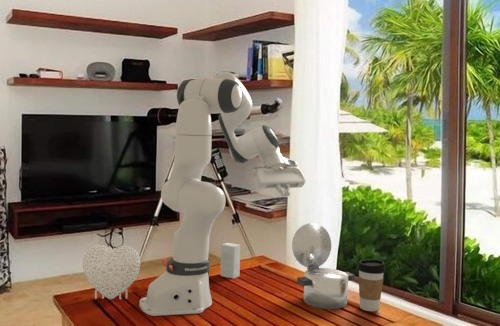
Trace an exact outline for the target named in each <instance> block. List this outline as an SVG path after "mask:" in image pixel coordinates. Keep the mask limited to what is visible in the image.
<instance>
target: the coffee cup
mask: <svg viewBox="0 0 500 326" xmlns="http://www.w3.org/2000/svg"><path fill="white" fill-rule="evenodd" d="M385 263H386V262H385V261H383V260H381V259H361V260H359V262H358V265H357V270H358V289H359V290H358V291H359V292H358V295H359V296H358V297H359V308H360V309H361V310H363V311H367V312H378V311H379V310H380V303H381V297H382V290H383V285H384V284H383V283H384V273H385V272H386V266H385Z"/></svg>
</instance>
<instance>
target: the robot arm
mask: <svg viewBox="0 0 500 326" xmlns="http://www.w3.org/2000/svg"><path fill="white" fill-rule="evenodd" d="M176 100H177V104H178V110H177V111H178V112H177V116H176V123H175V142H174V143H175V144H174V160H173V166H172V170H171V172H170V175H169V177H168V179H167V180H166V181H165V183H164V184H162V185H163V186H162V188H161V192H160V196H161V197H160V198H161V200H162V203H163V204H164V205H165V206H167V208H170V210H172V211H174V212H177V213H182V220H181V223H180V226H179V228H178V229H177V230H176V231H175V232H174V233H173V237H172V238H173V242H172V258H171V259H170V260H168V259H167V258H163V259H162V261H161V264H162V265H163V266H165V267H166V268H165V269H166V271H164V272H163V273H162V274H161V275H160V276H158V277H157V278H156V279H154V280H152V282H151V283H150V284H149V286H148V288H147V291H146V292H147V294H146V296H145V297H141V299H140V300H139V305H138V306H139V308H140V310H141V311H142V312H143V313H145V314H147V315H148V316H151V317H152V316H153V317H157V316H171V315H172V316H173V315H191V314H202V313H203V312H204V311H205V310H206V309H207V308H210V307H211V305H212V304H213V300H212V295H211V289H210V283H209V282H210V280H209V277H210V271H211V263H210V262H211V261H210V258H209V252H210V251H209V250H210V249H209V247H210V238H211V237H210V236H211V232H212V231H211V230H212V227H213V225H214V222H215V220H216V219H217V217H219V216H220V215H221V214H222V213H223V211H224V209H225V207H226V202H227V201H226V195H225V192H224V191H223V190H222V189H221V188H220V187H219V186H217V185H215V184H214V183H211V182H208V181H202V175H203V172H204V169H205V167H206V166H208V164H210V163H211V159H212V144H213V143H212V140H213V139H212V135H213V133H212V131H213V129H212V128H213V127H212V126H213V125H212V116H211V114H219V115H218V123H219V126H220V128H221V131H222V134H223V136H224V138H225V141H226V143H227V146H228V149H229V150H228V151H229V155H230V156H231V158H232V159H233V161H234V162H236V163H239V164H245V163H247V162H248V161H250V160H251V159H253V158H255V157H259V159H260V160H261V166H254V167H253V168H252V169H251V172H252V175H253V177H254V178H253V179H254V183H255V187H256V188H258V189H275V190H276V191H277V192H278V193H280V195H281V197H290V195H291V193H290V188H294V189H295V188H304V187H303V186H305V184H306V181H307V180H306V177H305V174H304V173H303V171H302V170H301V168H300V167H298V165H299V164H298V162H297V161H296V160H294V159H293V160H292V159H289V158H286V157H284V156H283V154H282V153H281V150H280V147H279V144H280V142H279V140H278V136H277V135H276V132H275V130H274V129H273V128H272V127H270V126H268V125H260V126H258V127H255V128H254V129H252V130H250V131H248V132H245V133H244V134H242V135H239V136H236V133H235V130H236V129H237V128H238V126H239V125H240V124H241V123H243V122H244V121H246V120H247V119H248V117H249V116H250V115H251V112H252V109H253V101H252V97H251V95H250V93H249V91H248V90H247V88H246V87H245V85H244V84H243V83H242V81H240V79H239V78H237V76H236V75H234V73H232V72H229V71H221V72H219V73H218V74H216V75H215V76H214V77H213V78H212V77H211V78H210V77H207V78H205V77H203V78H196V79H194V78H189V79H186V80H184V81H182V82H180V84H179V86H178V88H177V91H176Z"/></svg>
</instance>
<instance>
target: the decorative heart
mask: <svg viewBox="0 0 500 326" xmlns="http://www.w3.org/2000/svg"><path fill="white" fill-rule="evenodd" d="M117 261H119V262H117ZM141 262H142V261H141V256H140V254H139V252H138V251H137V250H136V249H135V248H134V247H132V246H129V245H121V246H118V247H115V248H112V247H108V246H107V245H102V244H95V245H93V246H90V247H89V248H87V250H86V251H84V254H83V258H82V269H83V272H84V273H83V274H84V275H85V277H86V279H87V281H88V282H89V284H90V285H91V287H93V288H94V289H95V290H94V299H95V300H96V299H97V298H98V293H100V294H101V299H103V300H104V299H105V298H107V300H114V299H115V298H116V297H117V296H119V300H122V293H124V292H125V299H128V288H130V287H131V285H132V284H133V283H134V282H135V280H136V279H137V277H138V275H139V273H140V270H141V269H140V268H141V265H142V264H141ZM121 264H122V265H121ZM107 284H108V285H107Z"/></svg>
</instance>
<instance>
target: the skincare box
mask: <svg viewBox="0 0 500 326" xmlns="http://www.w3.org/2000/svg"><path fill="white" fill-rule="evenodd" d="M220 246H221V248H220V249H221V252H220V253H221V254H220V277H225V278H229V279H233V280H234V279H236V278H239V277H240V272H241V271H240V270H241V268H240V267H241V244H237V243H232V242H226V243H221V245H220Z"/></svg>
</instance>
